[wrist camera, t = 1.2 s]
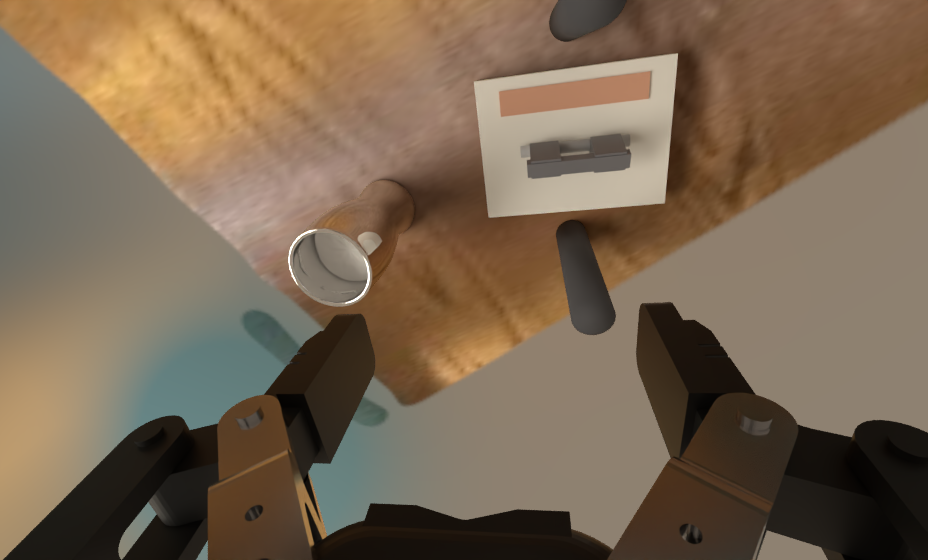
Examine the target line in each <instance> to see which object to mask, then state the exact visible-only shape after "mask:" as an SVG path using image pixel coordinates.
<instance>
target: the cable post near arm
mask: <svg viewBox="0 0 928 560" xmlns="http://www.w3.org/2000/svg"><path fill="white" fill-rule="evenodd" d="M625 3H626V0H558V2H557V4H556V6H555V7H554V9H553V11H552V13H551V16H550V21H549V25H550V30H551V32H552V34H553V36H554V37H555V38H556V39H558V40H560V41H564V42H567V41H571V40H574V39H576V38H579V37H581V36H583V35H586V34H588V33H590V32H593V31H595V30H597V29H600V28H602V27H604V26H606V25H608V24H610V23H611V22H612V21H613V20H615V19H616V18H617V16H618V15H619V14H620V13H621V11H622V9H623V8H624V5H625Z"/></svg>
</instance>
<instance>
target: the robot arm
mask: <svg viewBox="0 0 928 560" xmlns="http://www.w3.org/2000/svg"><path fill="white" fill-rule="evenodd" d="M636 357H637V365H638V370H639V374H640V377H641V379H642V382H643V384H644V387H645V390H646V393H647V395H648V398H649V400H650V403H651V406H652V409H653V412H654V414H655V417H656V420H657V422H658V425H659V428H660V430H661V433H662V435H663V438H664V441H665V444H666V446H667V449H668V452H669V455H670V457H671V459H670V460H669V461H668V462H667V464H666V465H665V467H664V468H663V470H662V472H661V474H660V475H659V477H658V478H657V480H656V482H655V483H654V485H653V486H652V488H651V489H650V491H649V493H648V495H647V496H646V498H645V499H644V501H643V502H642V504H641V506H640V507H639V509H638V510H637V512H636V514H635V515H634V517H633V519H632V520H631V522H630V523H629V525H628V527H627V528H626V530H625V532H624V533H623V535H622V537H621V538H620V540H619V541H618V543H617V545H616V546H615V548H614V549H611V548H610V547H609V546H607V545H605V544H604V543H601V542H600V541H598V540H596V539H595V538H593V537H591V536H588V535H586V534H584V533H582V532H578V531H575V530H572V529H571V522H570V513H569V512H564V511H541V510H540V511H539V510H513V511H508V512H503V513H499V514H494V515H489V516H484V517H479V518H475V519H469V520H461V519H458V518H454V517H451V516H448V515H445V514H442V513H439V512H435V511H432V510H429V509H426V508H423V507H420V506H417V505H395V504H370V506H369V509H368V512H367V515H366V518H365V520H364V521H361V522H357V523H355V524H351V525H348V526H346V527H344V528H342V529H340V530H338V531H336V532H334V533H332V534H330V535H329V536H327V533H326V530H325V527H324V523H323V519H322V516H321V512H320V509H319V505H318V501H317V498H316V494H315V491H314V487H313V484H312V480H311V477H310V475H309V473H308V471H309V470H310V468H311V466H312V464H313V463H329V464H330V463H331V461H332V459H333V457H334V455H335V453H336V451H337V449H338V447H339V445H340V443H341V441H342V438H343V436H344V434H345V432H346V430H347V428H348V426H349V424H350V422H351V420H352V418H353V416H354V414H355V412H356V410H357V408H358V406H359V404H360V401H361V399H362V397H363V395H364V393H365V391H366V389H367V387H368V385H369V383H370V380H371V379H372V377H373V374H374V370H375V355H374V351H373V348H372V344H371V340H370V336H369V333H368V329H367V325H366V321H365V319H364V317H363V315H361V314H343V315H336V316H334V318H333V319H332V320H331V322H330V323H329V324H328V326H327V327H326V328H325V330H324V331H320V332H318V333H317V334H316V335H314V336H313V337H312V338H310V339H309V340H307V341H306V342H305V343H304V345H303V346H302V347H301V348H300V350H299V351H298V352H297V355H295V356H294V357H293V358H292V360H291V361H290V364H289V365H287V366H286V367H285V369H284V370H283V371H282V372H281V374H280V375H279V376H278V378H277V379H276V380H275V381H274V383H273V384H272V385H271V386H270V388H269V389H268V390H267V391H266V393H265V394H264V395H259V396H254V397H251V398H248V399H246V400H243V401H241V402H240V403H238V404H236V405H235V406H233V407H232V408H230V409H229V410H228V411H227V412H226V413H225V414H224V415H223V416H222V418H221V419H220V421H219V423H218V424H214V425H210V426H206V427H201V428H197V429H193V430H189V428H188V426H187V425H186V423H185V421H184V419H183V418H182V417H180V416H165V417H161V418H158V419H155V420H152V421H150V422H148V423H146V424H144V425H142V426H140V427H139V428H137V429H136V430H134V431H133V432H132V433H130V434H129V435H128V436H127V437H126V438H124V440H123V441H121V442H120V443H119V444H118V445H117V447H115V448H114V449H113V450H112V451H111V452H110V453H109V454H108V455H107V456H106V457H105V459H103V461H101V462H100V463H99V465H97V466H96V467H95V468H94V469H93V470H92V471H91V472H90V474H88V475H87V476H86V477H85V478H84V479H83V480H82V481H81V482H80V483H79V484H78V485H77V486H76V487H75V488H74V489H73V490H72V491H71V492H70V493H69V494H68V495H67V496H66V498H64V499H63V500H62V501H61V502H60V503H59V505H57V506H56V507H55V508H54V509H53V510H52V511H51V512H50V513H49V514H48V515H47V516H46V517H45V518H44V519H43V520H42V521H41V522H40V523H39V524H38V525H37V526H36V527H35V528H34V529H33V530H32V531H31V532H30V533H29V534H28V535H27V536H26V537H25V538H24V539H23V540H22V541H21V542H20V543H19V544H18V545H17V546H16V547H15V548H14V549H13V550H12V551H11V552H10V553H9V554H8V555H7V556H6V557H5V558H4V559H3V560H121V559H120V557H119V553H118V547H119V543H120V540H121V537H122V535H123V533H124V532H125V530H126V529H127V528H128V527H129V525H130V524H131V523H132V522H133V520H134V519H135V518H136V517H137V515H138V514H139V513H140V512H141V510H142V509H143V508H144V507H145V505H146V504H147V503H148V502H149V504H150V505H151V506H152V508H153V509H154V511H155V512H156V514H157V515H156V516H155V517H154V519H153V520H152V521H151V523H150V524H149V525H148V527H147V528H146V529H145V531H144V532H143V533H142V534H141V536H140V537H139V538H138V540H137V541H136V542H135V544H134V545H133V546H132V548H131V549H130V550H129V552H128V553H127V554H126V556H125V557H124V558H123V559H122V560H196V559H197V557H198V555H199V554H200V552H201V550H202V549H203V547H204V545H205V544H206V542H207V540H208V560H757V558H758V555H759V552H760V550H761V547H762V544H763V541H764V538H765V535H766V532H767V530H768V531H771V532H774V533H778V534H781V535H784V536H787V537H790V538H793V539H797V540H800V541H803V542H806V543H810V544H812V545H816V546H819V547H821V548H822V550H823V551H824V553H825V555H826V557H827V559H828V560H928V433H927V432H925V431H922V430H920V429H918V428H915V427H912V426H909V425H906V424H902V423H898V422H892V421H885V420H872V421H866V422H863V423H861V424H860V425H858V426H857V428H856V429H855V431H854V434H853V436H852V437H848V436H843V435H838V434H834V433H829V432H824V431H820V430H815V429H810V428H807V427H803V426H800V425H797V423H796V421H795V419H794V418H793V416H792V415H791V414H790V413H789V412H788V411H787V410H785V409H784V408H783V407H781V406H780V405H778V404H777V403H775V402H773V401H771V400H769V399H766V398H764V397H761V396H758V395H756V394H755V393H754V392H753V390H752V389H751V387H750V386H749V384H748V383H747V382H746V380H745V379H744V377H743V376H742V375H741V373H740V372H739V370H738V369H737V367H736V366H735V364H734V363H733V362H732V360H731V359H730V358H729V357H728V355H727V353H726V352H725V350H724V349H723V347H722V346H720V343H719V342H718V340H717V339H716V337H715V336H714V334H713V333H712V332H711V330H709V329H708V328H706V327H705V326H703V325H701V324H700V323H699V322H697V321H695V320H683V319H682V318H681V316H680V314H679V313H678V311H677V310H676V308H675V306H674V305H673V303H671V302H665V303H642V304H641V306H640V310H639V322H638V335H637V348H636Z"/></svg>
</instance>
